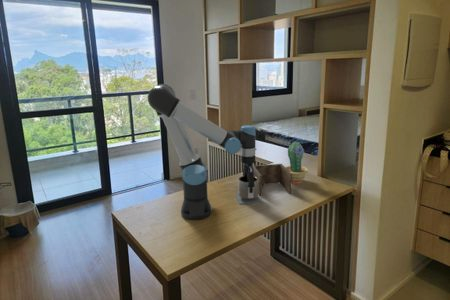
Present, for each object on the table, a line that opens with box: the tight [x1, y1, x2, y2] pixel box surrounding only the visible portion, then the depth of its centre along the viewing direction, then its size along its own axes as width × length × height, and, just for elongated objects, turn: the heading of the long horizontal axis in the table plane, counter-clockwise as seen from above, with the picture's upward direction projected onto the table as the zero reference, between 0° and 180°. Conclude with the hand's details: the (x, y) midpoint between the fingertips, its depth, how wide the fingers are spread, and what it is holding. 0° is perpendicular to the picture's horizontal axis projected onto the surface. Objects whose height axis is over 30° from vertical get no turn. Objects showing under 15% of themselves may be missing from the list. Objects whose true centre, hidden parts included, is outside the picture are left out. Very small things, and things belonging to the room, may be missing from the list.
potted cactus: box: [284, 141, 309, 185], centre depth 193 cm, size 15×15×25 cm
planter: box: [237, 175, 259, 199], centre depth 170 cm, size 11×11×10 cm
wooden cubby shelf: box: [252, 163, 292, 197], centre depth 183 cm, size 18×18×12 cm
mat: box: [235, 193, 262, 205], centre depth 172 cm, size 12×12×1 cm
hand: (248, 193), depth 171 cm, fingers closed on planter, 11 cm apart
